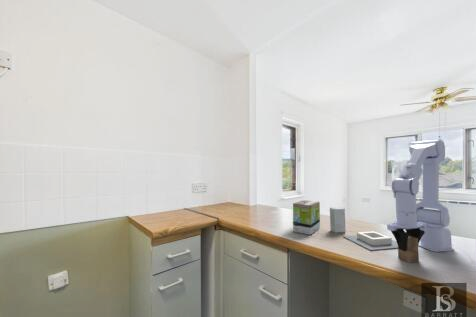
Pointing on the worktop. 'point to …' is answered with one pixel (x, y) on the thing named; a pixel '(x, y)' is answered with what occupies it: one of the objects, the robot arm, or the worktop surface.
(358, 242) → the socket board
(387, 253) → the worktop surface
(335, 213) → the skincare box
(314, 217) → the tea box
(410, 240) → the walnut peg
